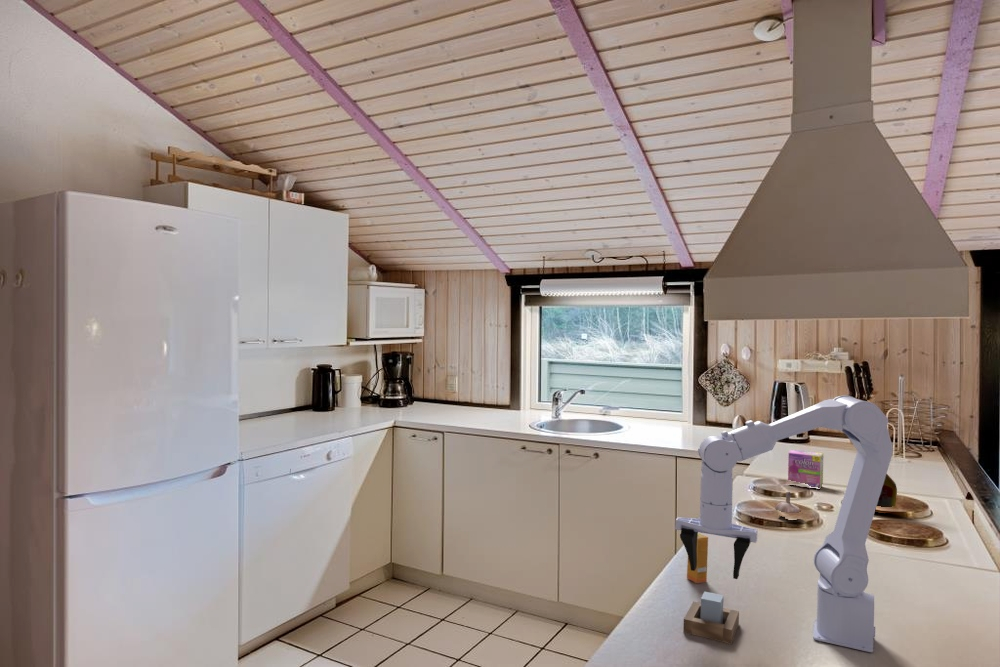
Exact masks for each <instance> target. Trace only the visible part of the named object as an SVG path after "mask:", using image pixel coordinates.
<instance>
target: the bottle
mask: <svg viewBox="0 0 1000 667" xmlns="http://www.w3.org/2000/svg"><path fill="white" fill-rule="evenodd" d="M897 497H898V488H897V484H896V482H895V481H894V479H892V477H891V476H890V475H888V473H887V474H886V477H885V480H884V484H883V487H882V490H881V493H880V497H879V500H878V503H877V506H881V507H892V506H895V507H896V503H897Z"/></svg>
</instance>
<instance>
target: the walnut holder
mask: <svg viewBox="0 0 1000 667" xmlns="http://www.w3.org/2000/svg"><path fill="white" fill-rule="evenodd" d="M739 623H740V611H739V610H734V609H730V608H726V607H723V624H719V623H715V622H711V621H706V620H702V619H701V602H697V601H692V603H691V605H690V607H689V608H688V611H687V612H686V614H685V616H684V618H683V629H682V631H683V633H685V634H689V635H693V636H698V637H701V638H706V639H710V640H714V641H718V642H722V643H726V644H732V643H733V640H734V638H735V636H736V632H737V630H738V627H739Z"/></svg>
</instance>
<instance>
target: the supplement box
mask: <svg viewBox="0 0 1000 667" xmlns="http://www.w3.org/2000/svg"><path fill="white" fill-rule="evenodd" d="M708 547H709V536H705V535H703V534H702V533H700V532H698V537H697V568H696V569H695V571H692V570H691V567H690V562H689V558H688V557H687V565H686V566H687V568H686V578H687V579H688V580H690V581H691V582H693V583H695V584H702V583H706V582H707V581H708V580H707V579H708V578H707V577H708V551H709V548H708Z"/></svg>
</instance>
